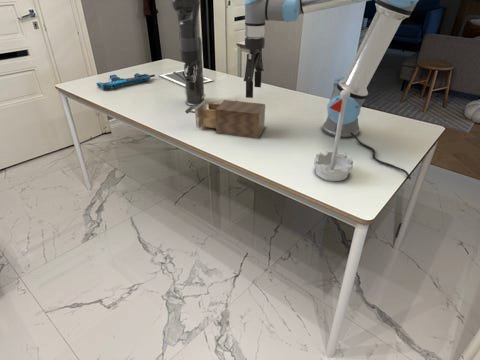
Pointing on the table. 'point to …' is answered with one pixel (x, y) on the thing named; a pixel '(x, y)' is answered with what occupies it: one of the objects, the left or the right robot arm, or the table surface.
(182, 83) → the tablet
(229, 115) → the cabinet
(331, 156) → the flag stand
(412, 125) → the table surface
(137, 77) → the submachine gun
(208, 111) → the drawer
